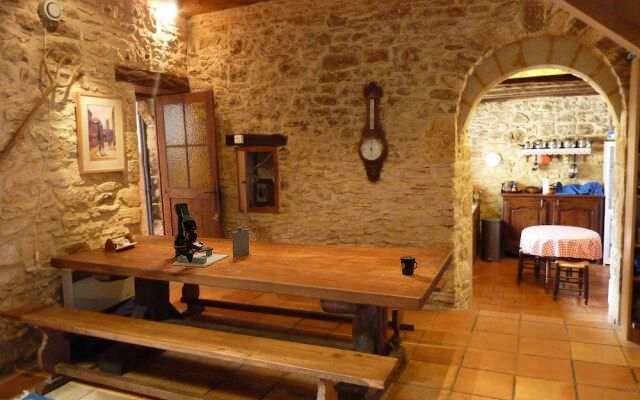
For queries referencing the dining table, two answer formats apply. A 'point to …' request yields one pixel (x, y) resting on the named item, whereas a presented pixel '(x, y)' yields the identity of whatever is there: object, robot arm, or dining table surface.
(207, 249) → the iron keeper
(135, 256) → the dining table surface
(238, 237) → the hip flask
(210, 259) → the cream base plate
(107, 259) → the dining table surface
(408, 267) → the coffee mug
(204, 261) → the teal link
